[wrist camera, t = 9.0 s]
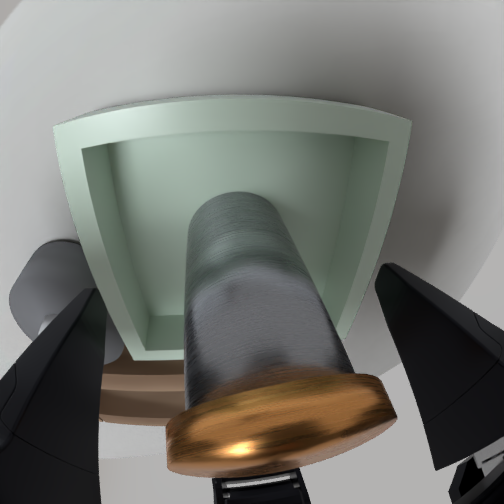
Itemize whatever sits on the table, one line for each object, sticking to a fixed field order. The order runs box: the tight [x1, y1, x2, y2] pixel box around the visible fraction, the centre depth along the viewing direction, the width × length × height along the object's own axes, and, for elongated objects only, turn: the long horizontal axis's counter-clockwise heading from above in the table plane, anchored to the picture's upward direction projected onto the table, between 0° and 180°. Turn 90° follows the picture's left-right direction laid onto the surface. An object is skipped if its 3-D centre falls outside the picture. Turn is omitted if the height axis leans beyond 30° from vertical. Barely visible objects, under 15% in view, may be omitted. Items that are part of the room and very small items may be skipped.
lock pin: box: [166, 191, 397, 478], centre depth 7 cm, size 4×4×8 cm
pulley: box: [9, 241, 124, 365], centre depth 10 cm, size 6×6×3 cm
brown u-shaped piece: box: [99, 343, 186, 426], centre depth 15 cm, size 9×12×2 cm
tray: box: [53, 95, 413, 360], centre depth 10 cm, size 10×10×3 cm
